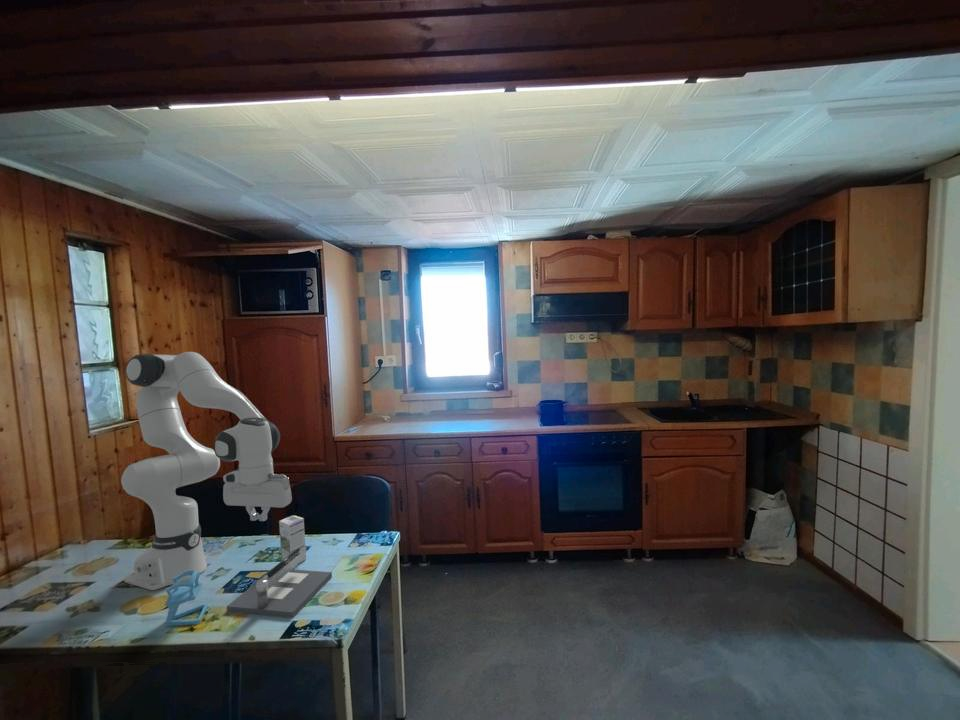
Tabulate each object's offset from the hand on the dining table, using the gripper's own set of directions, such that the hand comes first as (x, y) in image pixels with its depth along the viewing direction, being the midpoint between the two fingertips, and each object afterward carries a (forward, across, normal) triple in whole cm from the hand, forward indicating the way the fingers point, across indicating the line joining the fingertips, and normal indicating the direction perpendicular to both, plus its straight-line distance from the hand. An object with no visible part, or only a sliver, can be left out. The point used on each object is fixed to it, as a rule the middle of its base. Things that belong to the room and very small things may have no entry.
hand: (258, 520), depth 118 cm
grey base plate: (+21, -7, 0) cm, 22 cm away
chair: (+21, +12, +14) cm, 28 cm away
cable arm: (+16, -7, +1) cm, 17 cm away
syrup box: (+21, +1, -16) cm, 27 cm away
